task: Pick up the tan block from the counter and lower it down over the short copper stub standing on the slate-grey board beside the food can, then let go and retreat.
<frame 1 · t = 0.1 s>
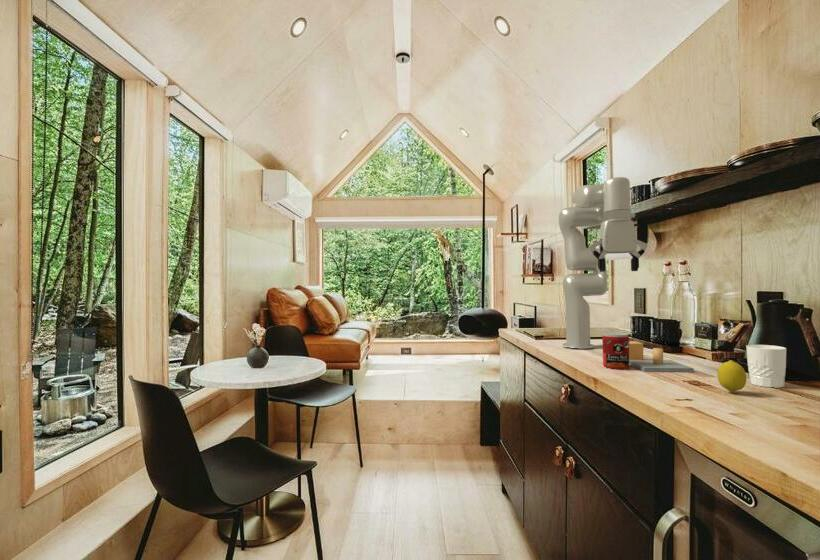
hand: (618, 271, 126), 31 cm above the counter, tool pointing down, fingers open, 9 cm apart
stub board: (658, 367, 127), on the counter
tan block: (630, 360, 139), on the counter
canned food: (616, 368, 129), on the counter
lemon: (732, 393, 97), on the counter
white cup: (766, 385, 104), on the counter
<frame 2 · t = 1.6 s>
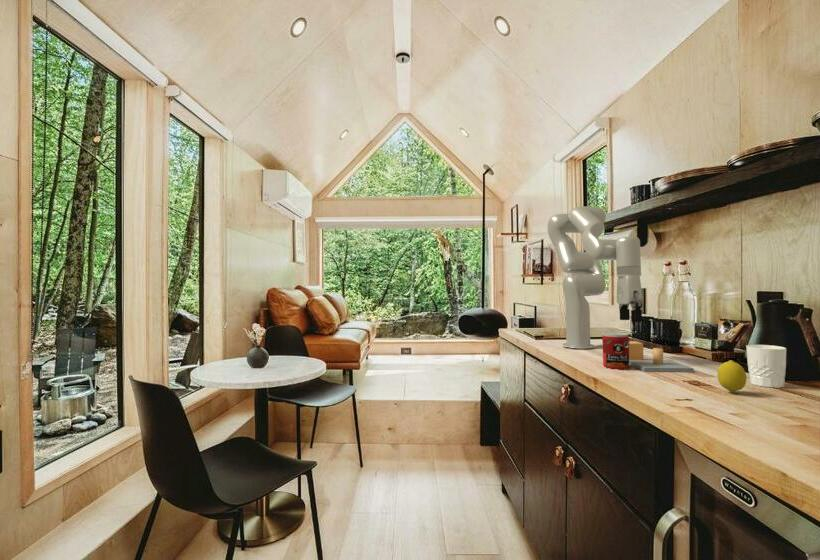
hand: (630, 321, 139), 14 cm above the counter, tool pointing down, fingers open, 9 cm apart
nothing on the counter moved.
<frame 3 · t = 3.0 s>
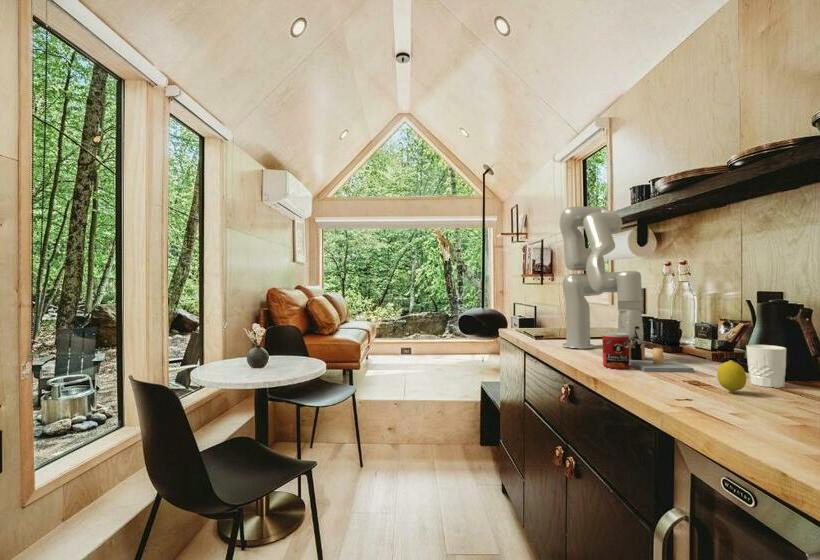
hand: (632, 357, 138), 1 cm above the counter, tool pointing down, fingers closed on tan block, 6 cm apart
tan block: (631, 361, 138), on the counter, touching gripper
everything else where it was.
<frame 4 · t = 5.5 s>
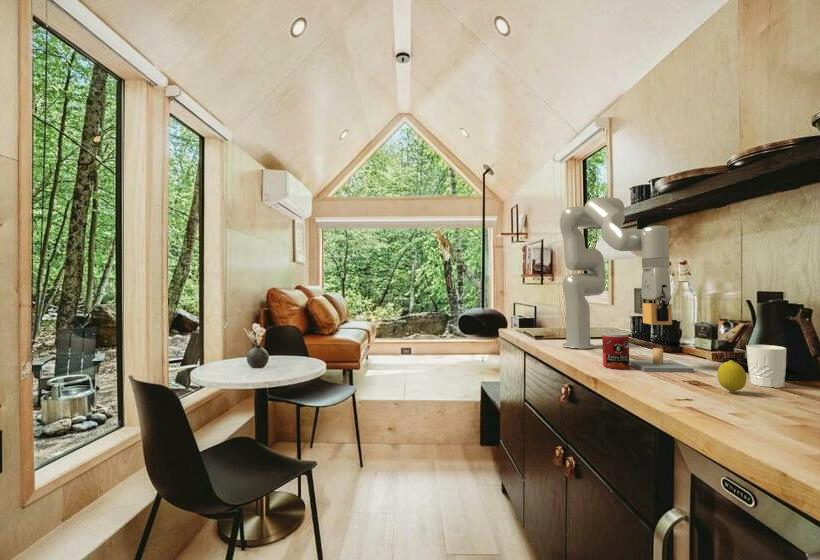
hand: (657, 319, 128), 15 cm above the counter, tool pointing down, fingers closed on tan block, 6 cm apart
tan block: (657, 323, 128), point 14 cm above the counter, touching gripper
everything else where it was.
when the fingers open (3 cm above the counter, at t = 7.9 s): tan block stays where it is, resting on stub board.
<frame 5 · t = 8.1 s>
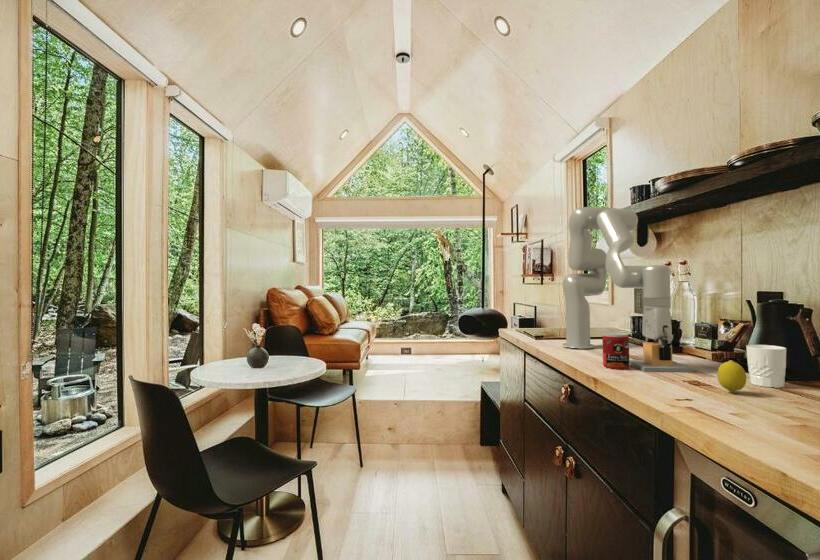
hand: (658, 357, 127), 3 cm above the counter, tool pointing down, fingers open, 8 cm apart
tan block: (657, 363, 128), point 1 cm above the counter, touching stub board
everything else where it was.
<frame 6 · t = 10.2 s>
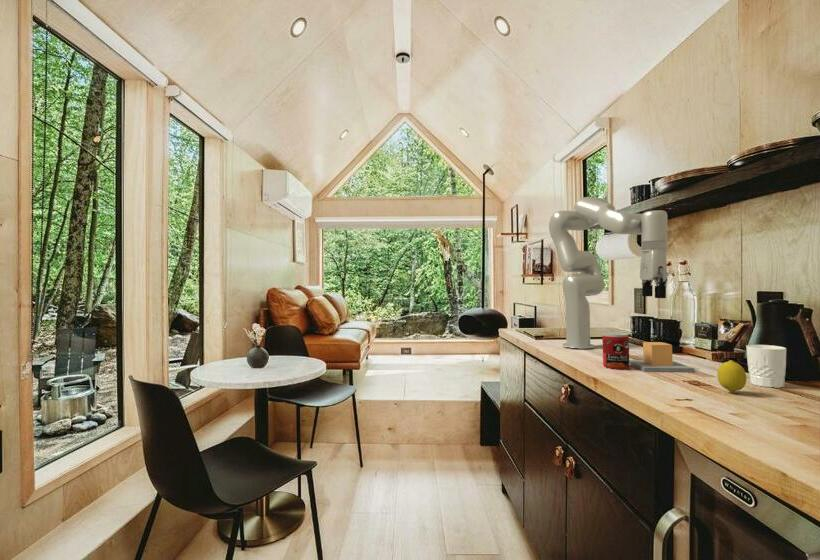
hand: (653, 297, 136), 22 cm above the counter, tool pointing down, fingers open, 9 cm apart
nothing on the counter moved.
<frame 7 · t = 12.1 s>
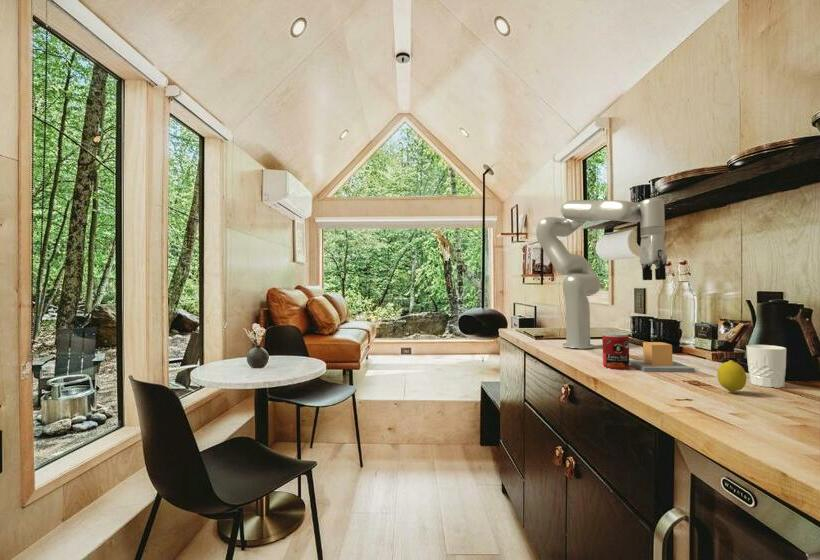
hand: (653, 279, 144), 28 cm above the counter, tool pointing down, fingers open, 9 cm apart
nothing on the counter moved.
at the end: tan block 0.1 cm off-centre on the stub board, point 1.2 cm above the stub board's base; tan block tilted 0°; the gripper is holding nothing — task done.
